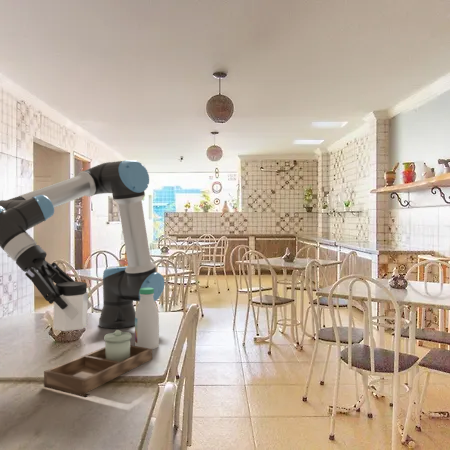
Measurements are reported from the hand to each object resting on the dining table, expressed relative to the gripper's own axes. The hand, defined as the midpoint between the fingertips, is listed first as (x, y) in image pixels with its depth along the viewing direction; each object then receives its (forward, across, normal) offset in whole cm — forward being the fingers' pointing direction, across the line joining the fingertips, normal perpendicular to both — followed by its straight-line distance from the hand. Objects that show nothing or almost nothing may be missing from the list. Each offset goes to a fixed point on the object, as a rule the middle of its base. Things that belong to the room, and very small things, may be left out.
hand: (82, 311), depth 116 cm
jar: (+1, 0, -6) cm, 6 cm away
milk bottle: (+21, -23, -3) cm, 31 cm away
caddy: (+16, -1, -8) cm, 18 cm away
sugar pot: (+17, -7, -6) cm, 19 cm away
